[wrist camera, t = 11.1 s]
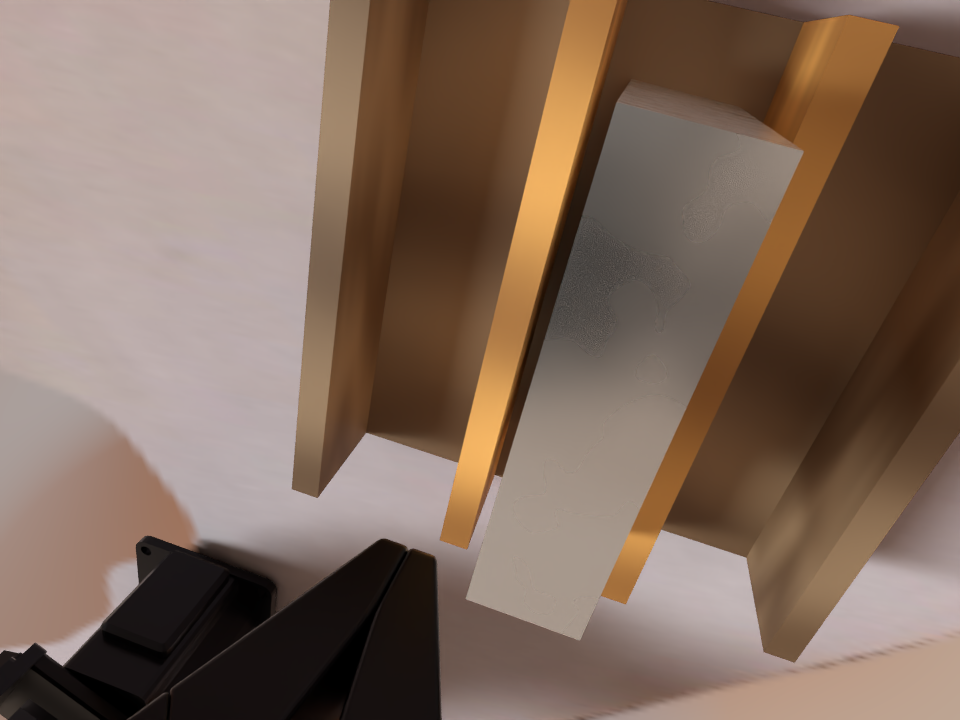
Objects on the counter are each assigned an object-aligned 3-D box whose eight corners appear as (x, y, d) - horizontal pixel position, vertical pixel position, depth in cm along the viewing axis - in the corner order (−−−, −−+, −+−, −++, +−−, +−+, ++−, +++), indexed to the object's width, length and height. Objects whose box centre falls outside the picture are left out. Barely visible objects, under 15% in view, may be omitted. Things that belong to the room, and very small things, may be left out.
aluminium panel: (602, 450, 19) (579, 640, 13) (524, 425, 19) (465, 599, 13) (739, 107, 14) (803, 150, 8) (631, 79, 14) (616, 101, 8)
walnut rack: (767, 543, 20) (794, 662, 16) (356, 410, 22) (291, 489, 18) (1042, 80, 13) (1202, 94, 10) (419, -62, 15) (338, -100, 11)
